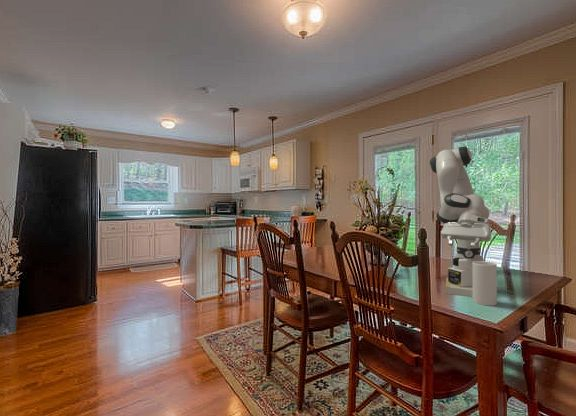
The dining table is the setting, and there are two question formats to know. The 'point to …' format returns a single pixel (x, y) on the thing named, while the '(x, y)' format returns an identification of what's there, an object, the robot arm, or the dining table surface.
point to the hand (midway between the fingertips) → (461, 245)
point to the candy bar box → (390, 267)
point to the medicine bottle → (460, 273)
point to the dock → (458, 289)
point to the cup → (485, 283)
